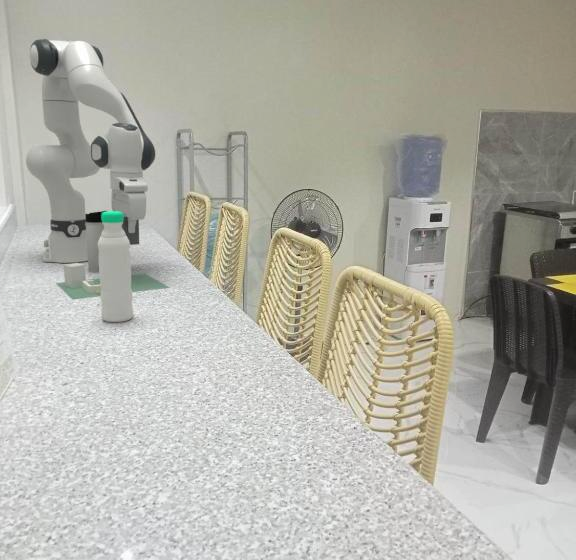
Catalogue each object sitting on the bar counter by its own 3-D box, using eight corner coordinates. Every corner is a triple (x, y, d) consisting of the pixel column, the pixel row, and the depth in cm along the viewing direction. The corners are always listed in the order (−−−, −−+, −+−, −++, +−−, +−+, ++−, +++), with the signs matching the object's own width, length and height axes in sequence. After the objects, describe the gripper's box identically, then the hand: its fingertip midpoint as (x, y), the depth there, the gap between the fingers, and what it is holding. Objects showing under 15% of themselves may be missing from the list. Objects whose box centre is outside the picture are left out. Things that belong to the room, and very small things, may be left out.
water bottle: (139, 316, 135) (134, 211, 129) (121, 324, 129) (116, 214, 123) (114, 313, 137) (108, 209, 132) (95, 321, 131) (88, 212, 125)
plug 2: (117, 242, 166) (116, 214, 164) (133, 241, 168) (133, 213, 167) (122, 245, 162) (121, 216, 160) (139, 244, 165) (138, 216, 163)
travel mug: (104, 277, 173) (101, 212, 169) (85, 276, 174) (80, 211, 170) (114, 273, 179) (111, 209, 175) (95, 272, 180) (91, 209, 176)
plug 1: (63, 285, 158) (62, 264, 157) (77, 283, 161) (75, 262, 160) (72, 288, 155) (70, 266, 153) (86, 286, 158) (84, 264, 156)
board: (56, 287, 161) (55, 276, 160) (145, 277, 175) (145, 267, 174) (72, 303, 144) (72, 291, 144) (170, 291, 158) (169, 280, 158)
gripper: (105, 179, 167) (106, 226, 171) (126, 186, 151) (128, 237, 154) (126, 179, 171) (127, 225, 174) (149, 185, 154) (150, 236, 158)
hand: (128, 231), depth 164 cm, fingers closed on plug 2, 4 cm apart
